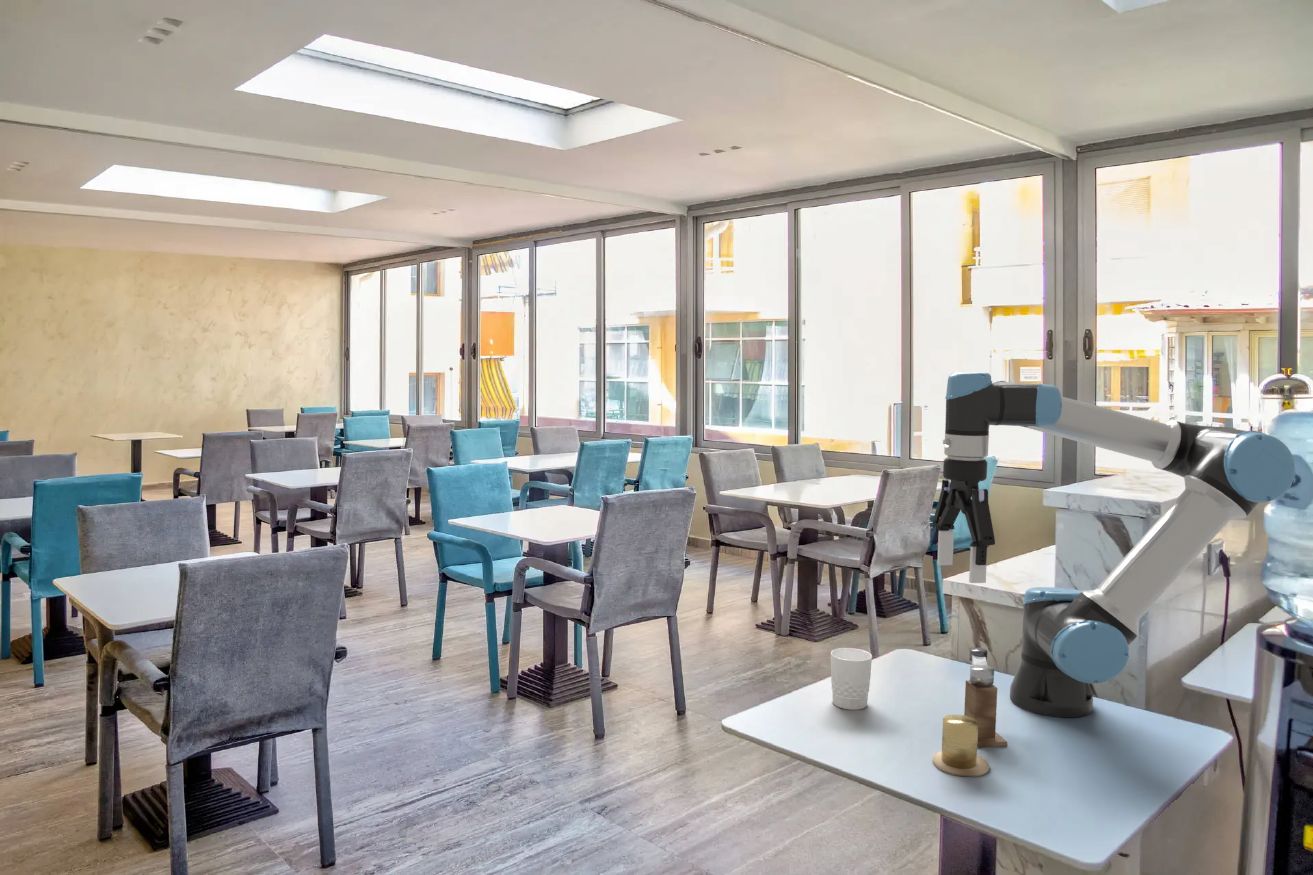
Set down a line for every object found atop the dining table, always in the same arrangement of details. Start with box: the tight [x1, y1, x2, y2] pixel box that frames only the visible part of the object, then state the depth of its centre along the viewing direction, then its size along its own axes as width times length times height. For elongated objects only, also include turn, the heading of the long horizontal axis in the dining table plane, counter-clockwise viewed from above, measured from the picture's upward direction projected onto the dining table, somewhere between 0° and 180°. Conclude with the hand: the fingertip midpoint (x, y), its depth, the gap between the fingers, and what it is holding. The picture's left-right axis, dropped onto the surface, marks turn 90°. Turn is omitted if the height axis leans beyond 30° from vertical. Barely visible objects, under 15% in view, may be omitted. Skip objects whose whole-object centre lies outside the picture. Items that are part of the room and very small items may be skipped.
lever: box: [968, 646, 995, 686], centre depth 170 cm, size 16×4×2 cm, turn 164°
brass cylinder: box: [941, 714, 978, 769], centre depth 155 cm, size 6×6×7 cm
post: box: [963, 679, 1008, 748], centre depth 166 cm, size 7×7×10 cm
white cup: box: [830, 647, 873, 711], centre depth 181 cm, size 8×8×10 cm
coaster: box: [932, 750, 990, 778], centre depth 155 cm, size 9×9×1 cm
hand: (960, 573), depth 169 cm, fingers open, 13 cm apart
